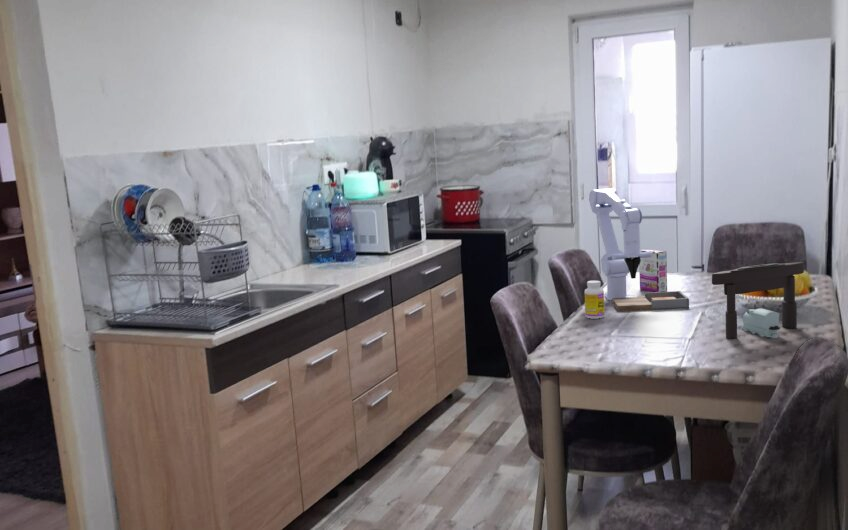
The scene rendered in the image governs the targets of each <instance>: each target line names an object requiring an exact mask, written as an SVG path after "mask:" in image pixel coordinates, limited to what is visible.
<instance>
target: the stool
mask: <svg viewBox="0 0 848 530" xmlns="http://www.w3.org/2000/svg"><path fill="white" fill-rule="evenodd" d="M804 273H805V263H804V262H803V261H796V262H795V261H794V262H787V263H786V262H785V263H776V262H775V263H766V264H757V265H749V266H743V267H742V266H741V267H739V268H738V267H737V268H736V269H730V270H724V271H718V272H714V273H712V275H711V284H712V286H718V285H723V293H724V296H726V310H725V338H726V339H733V340H734V339H737V338H738V312H737V310H736V295H743V294H744V295H745V294H749V293H758V292H763V291H764V292H765V291H773V290H778V289H783V299H782V301H781V314H780V313H779V312H777V311H773V310H770V309H765V308H762V307H761V308H756V309H754V308H752V309H751V308H750V309H747V311H746V312H745V313H744V314H743V316H742V325H741V328H740V330H743V332H745V331H747V332H751V334H753V335H755V334H756V333H757V335H759V337H767V338H772V339H773V338H774V339H777V338H779V332H778V330H781V327H780V315H781V326H782V328H787V329H797V326H798V325H797V323H798V322H797V321H798V320H797V319H798V314H797V313H798V311H797V309H798V308H797V307H798V305H797V301H796V277H795V275H801V274H804Z"/></svg>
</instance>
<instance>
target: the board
mask: <svg viewBox="0 0 848 530" xmlns="http://www.w3.org/2000/svg"><path fill="white" fill-rule="evenodd" d="M611 301H612V305H613V306H614V308H615V309H616V311H617V312H618V311H620V312H633V311H634V312H638V311H653V310H652V304H651V303H650V302H649V301H648V300H647V299H646V298H645V296H633V297H631V296H630V297H629V296H628V298H612V300H611Z"/></svg>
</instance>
